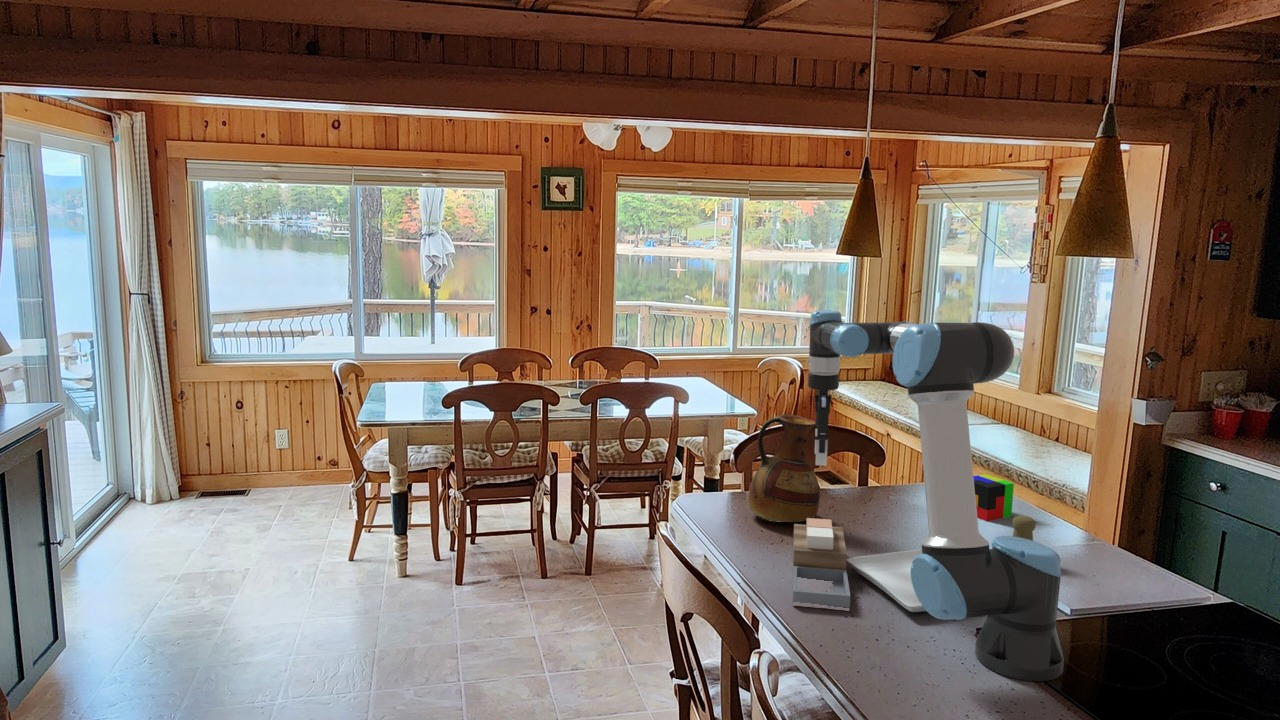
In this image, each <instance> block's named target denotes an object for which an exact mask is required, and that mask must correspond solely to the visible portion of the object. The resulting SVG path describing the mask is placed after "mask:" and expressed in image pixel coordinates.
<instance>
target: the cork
mask: <svg viewBox="0 0 1280 720" xmlns="http://www.w3.org/2000/svg"><path fill="white" fill-rule="evenodd" d="M1012 527H1013V534H1012V536H1013V537H1019V538H1024V539H1028V540H1032V541H1034V536H1033V532H1034V530H1035V529H1036V521H1035V520H1034V518H1032V517H1029V516H1027V515H1017V516H1015V517H1013V519H1012Z"/></svg>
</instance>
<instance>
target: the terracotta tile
mask: <svg viewBox="0 0 1280 720" xmlns="http://www.w3.org/2000/svg"><path fill="white" fill-rule="evenodd" d="M805 522H806V524H805V525H806V538H807V527H815V528H830V529H832V527H833V524H832V523H833V521H832V519H830V518H829V519H827V518H826V519H825V518H815V517H814V518H807V521H805Z"/></svg>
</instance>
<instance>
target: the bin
mask: <svg viewBox="0 0 1280 720" xmlns="http://www.w3.org/2000/svg"><path fill="white" fill-rule="evenodd" d="M797 577H801V578H807V579H816V580H824V581H833V583H832V584H833V585H834V586H833V585H832V586H833V587H832V586H831V588H833V591H834V592H835V593H827V592H815V591H803V590H797ZM829 587H830V586H829ZM835 588H836V589H835ZM834 589H835V590H836V591H835V590H834ZM831 590H832V589H831ZM837 590H838V591H837ZM850 590H851V589H850V585H849V579H848V572H847V569H846V570H839V569H826V568H813V567H800V566H793V565H792V603H793V602H800V603H811V604H819V605H827V606H834V607H843V608H850V609H851V592H850ZM831 592H832V591H831Z"/></svg>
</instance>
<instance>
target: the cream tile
mask: <svg viewBox="0 0 1280 720" xmlns="http://www.w3.org/2000/svg"><path fill="white" fill-rule="evenodd" d="M833 538H834V537H833V530H832V529H830V528H815V527H807V548H815V549H829V550H833Z"/></svg>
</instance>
